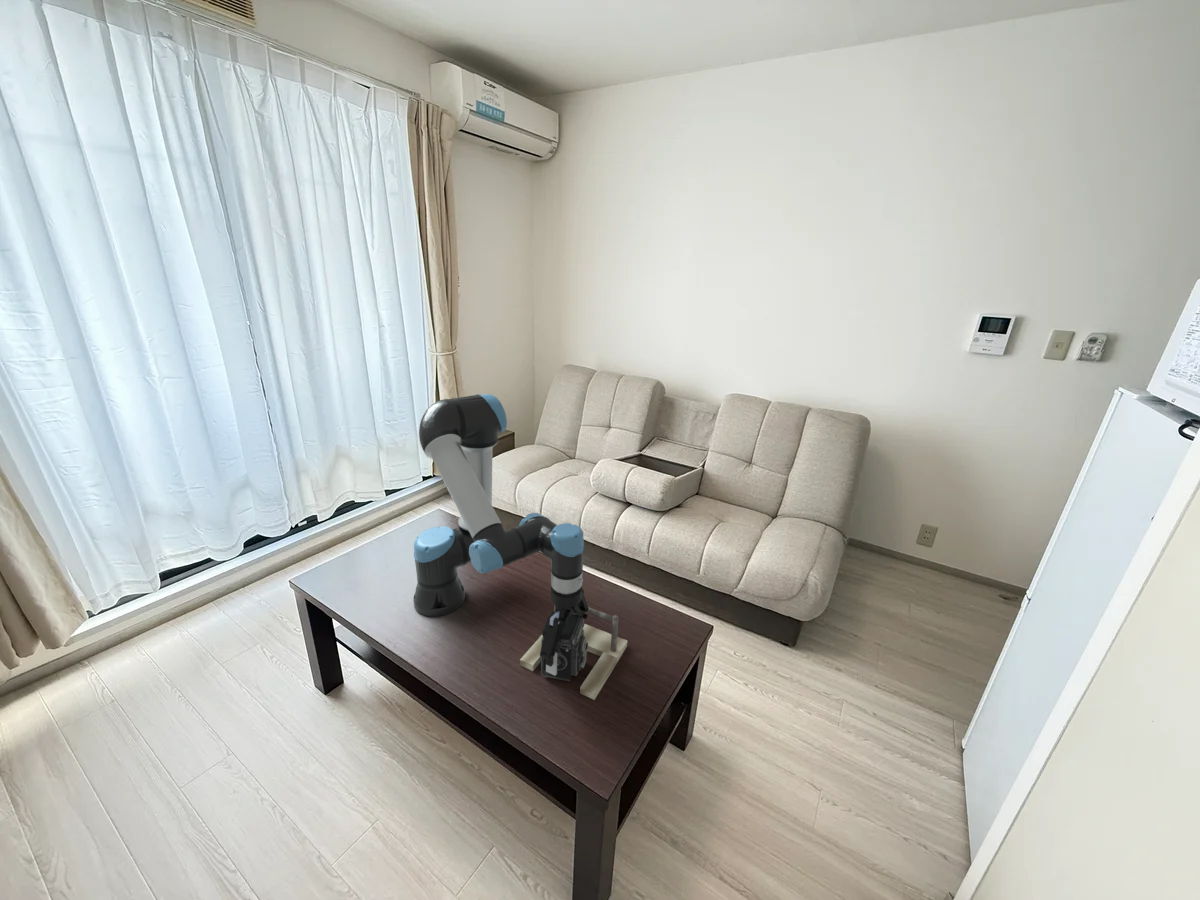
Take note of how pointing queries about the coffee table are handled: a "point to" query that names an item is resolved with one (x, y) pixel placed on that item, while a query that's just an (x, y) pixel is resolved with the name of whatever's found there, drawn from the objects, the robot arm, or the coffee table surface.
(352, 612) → the coffee table surface
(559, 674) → the camera
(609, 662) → the wooden rack
